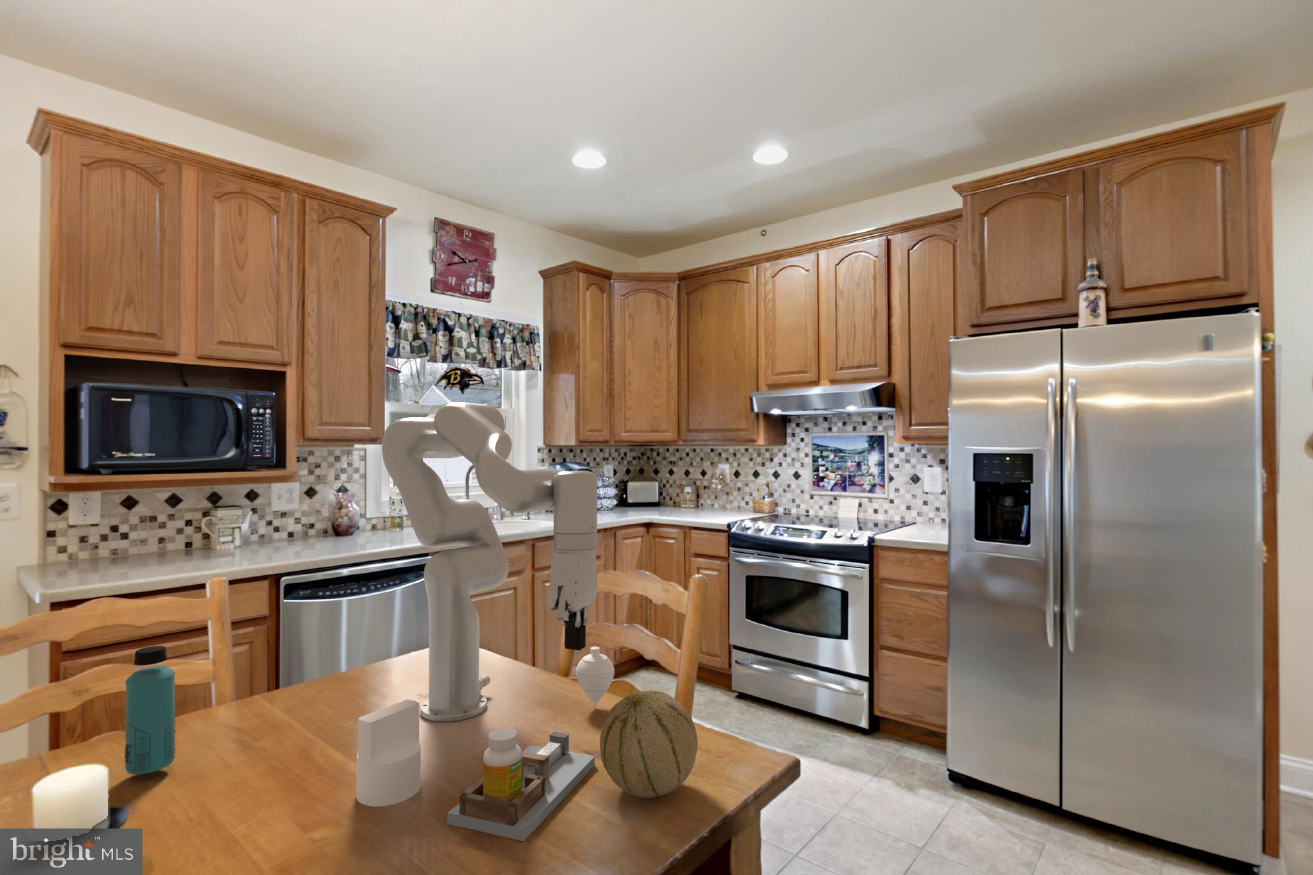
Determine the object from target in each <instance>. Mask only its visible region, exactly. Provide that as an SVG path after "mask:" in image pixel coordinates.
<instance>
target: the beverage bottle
mask: <svg viewBox="0 0 1313 875" xmlns="http://www.w3.org/2000/svg"><path fill="white" fill-rule="evenodd" d="M167 659H168V655H167V648H166V646H164V645H152V646H146V647H141V648H139V649H137V650H136V651H135V653H134V660H133V665H135V666H146V667H143V668H140V669H137V670H135V671H133V673H131V674H130V675H129V676H128V677H127V678H126V680H125V710H124V711H125V712H124V714H125V715H124V720H125V725H124V726H123V727H124V728H125V729H124V734H125V736H124V739H125V745H124V761H123V762H124V769H125V771H126V773H127V774H130V775H143V774H144V775H145V774H150V773H153V772H157V771H160V770H163V769H164V768H166V767H168V766H170V765H172V764H173V763H174V760H175V758H176V752H177V748H176V735H177V730H176V725H177V723H176V722H177V721H176V720H177V718H176V715H177V714H176V708H177V707H176V703H175V701H176V700H175V699H176V698H175V697H176V696H175V688H176V687H175V684H176V683H175V676H176V672H175V670H174V669H173V668H171V667H169V666H167V665H156V664H160V663H163V662H165V661H167ZM150 665H152V666H150ZM147 666H148V667H147Z"/></svg>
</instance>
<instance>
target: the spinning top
mask: <svg viewBox="0 0 1313 875" xmlns="http://www.w3.org/2000/svg"><path fill="white" fill-rule="evenodd" d="M589 651H590V653H589V654H587V655H585V656H582V658H581V659H580V661H579V662H578V663H577V665H576V669H575V677H576V681H577V683H578V684H579V687H580V688H581V690H582V691H583V693H584V695H585V696H586V697H587V698H588V699H589V701H590V702H591V703H592V704H593V708H594V709H597V704H598V703H599V701H601V699H603V697H604V695H605V694H606V692H607V691H608V689H609V687H610V686H611V684H612V681H613V679H614V676H615V667H614V664H613V662H612V660H610V659H609V657H608V656H607V655H605V654H602V653H600V652H601V647H599V646H592V647H590V650H589Z"/></svg>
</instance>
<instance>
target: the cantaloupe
mask: <svg viewBox="0 0 1313 875" xmlns="http://www.w3.org/2000/svg"><path fill="white" fill-rule="evenodd" d="M698 743H699V742H698V734H697V730H696V725H695V722H694V721H693V718H692V716H691V714H690V713H689V711H688V710H687V708H685V706H684V705H683V704H682V703H681V702H680V701H678V700H677V699H676V698H674V697H672V695H669V694H668V693H665V692H664V691H661V690H653V689H652V690H641V691H639V690H638V691H636V692H634V693H631V694H629V695H627V696H625V697H624V698H622V699H621V700H619V701H618V702H616V703H615V704H614V705H613V706H612V707H611V708H610V710H608V713H607V715H606V717H605V720H604V722H603V725H602V727H601V730H600V737H599V752H600V759H601V762H602V765H603V768H604V769H605V772H606V773H607V775H608V777H610V779H611V781H612V782H613V783H614V784H615V785H616V786H617V787H618V788H620V790H622V791H623V792H624V793H626V794H628V795H630V796H634V797H639V798H644V799H651V798H656V797H659V796H660V797H661V796H664V795H668V794H670V793H671V792H672V791H674V790H675V789H677V788H678V787H680V786H681V785H682V784H683V783H684V782H685V781H686V780H687V779H688V777H689V776H690V775H691V773H692V769H693V768H694V766H695V763H696V758H697V753H698V746H699V744H698Z"/></svg>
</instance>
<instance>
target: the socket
mask: <svg viewBox="0 0 1313 875" xmlns="http://www.w3.org/2000/svg"><path fill="white" fill-rule="evenodd" d="M544 795H545V777H542V776H537V775H532V774H528V775H527V776H526V777H525V789H524V790H523V791H522V792H521V793H520V794H519V795H518V796H517V797H516V798H515V799H514V800H513V801H512V802H508V801H504V800H499V799H494V798H489V797H484V796H483V776H482V777H481V778H479V780H477V781H476V782H475V783H474V784H473V785H471V786H470V787H469V788H467V789H466V790H465V791H464V792H462V793H461V794H460V795H459V796H458V797H459V800H458V801H459V802H458V804H459V814H460V815H465V816H469V817H474V818H478V819H483V820H487V821H492V822H496V823H501V824H505V825H510V826H514V825H515V824H516V823H517V822H518V821H519V820H520V819H521V818H522V817H523V816H524V815H525V814H526V813H527V812H528V811H529V810H530V809H531V808H532V807H533V806H534V805H535V804H536V803H537V802H538V801H539V800H540V799H541V798H542V797H543V796H544Z"/></svg>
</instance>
